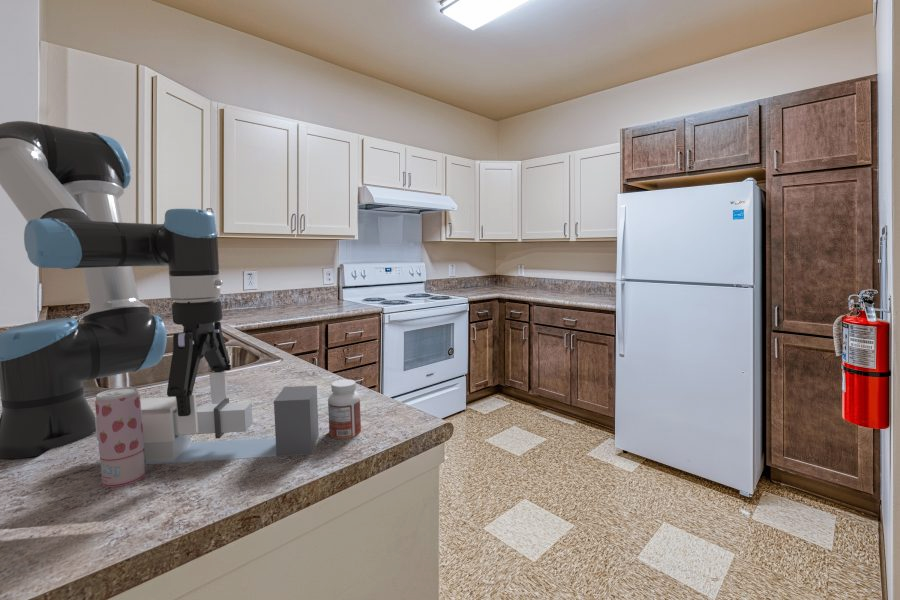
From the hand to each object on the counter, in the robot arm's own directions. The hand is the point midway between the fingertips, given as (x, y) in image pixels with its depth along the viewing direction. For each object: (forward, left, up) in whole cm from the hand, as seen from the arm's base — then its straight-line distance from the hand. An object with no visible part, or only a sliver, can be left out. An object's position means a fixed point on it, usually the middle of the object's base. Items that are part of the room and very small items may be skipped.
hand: (205, 418), depth 78 cm
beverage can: (-9, -8, -7) cm, 14 cm away
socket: (+16, 0, -6) cm, 17 cm away
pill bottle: (+24, +5, -7) cm, 25 cm away
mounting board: (+3, 0, -7) cm, 8 cm away
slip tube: (-5, 0, -3) cm, 6 cm away
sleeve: (-9, 0, -6) cm, 11 cm away
